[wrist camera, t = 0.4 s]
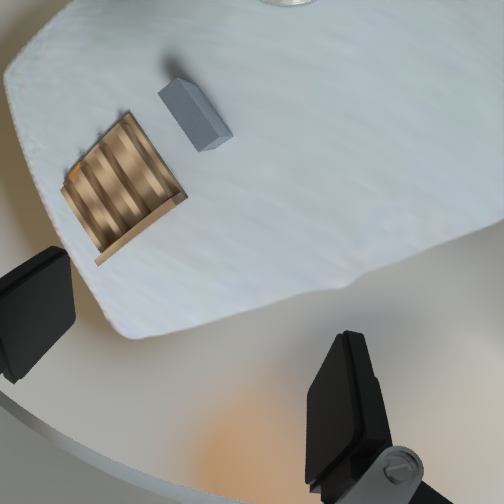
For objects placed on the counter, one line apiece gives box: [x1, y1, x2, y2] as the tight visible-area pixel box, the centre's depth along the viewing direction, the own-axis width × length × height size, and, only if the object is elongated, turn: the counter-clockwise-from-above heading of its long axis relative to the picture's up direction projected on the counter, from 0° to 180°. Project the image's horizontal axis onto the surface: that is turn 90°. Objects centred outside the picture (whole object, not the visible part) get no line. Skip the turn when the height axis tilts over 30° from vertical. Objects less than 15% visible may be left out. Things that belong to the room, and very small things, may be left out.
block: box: [158, 77, 233, 152], centre depth 34 cm, size 9×3×8 cm, turn 34°
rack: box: [60, 113, 188, 266], centre depth 41 cm, size 16×18×5 cm
